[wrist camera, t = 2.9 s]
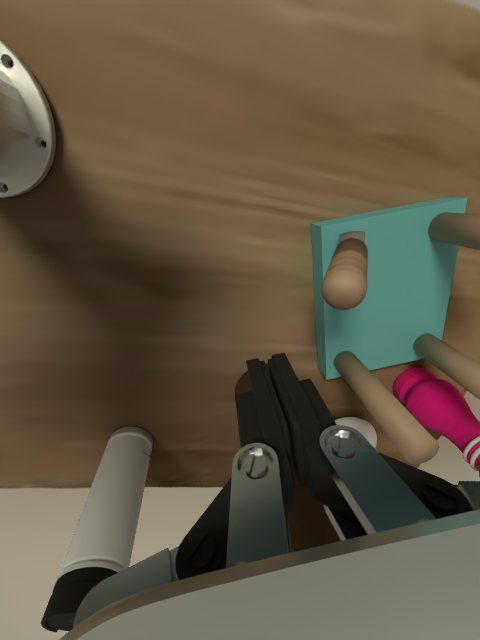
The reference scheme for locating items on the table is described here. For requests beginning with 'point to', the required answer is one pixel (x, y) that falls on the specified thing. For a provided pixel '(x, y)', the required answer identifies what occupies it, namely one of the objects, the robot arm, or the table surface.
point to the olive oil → (301, 506)
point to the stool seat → (396, 308)
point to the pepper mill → (440, 410)
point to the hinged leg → (347, 272)
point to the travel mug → (103, 525)
